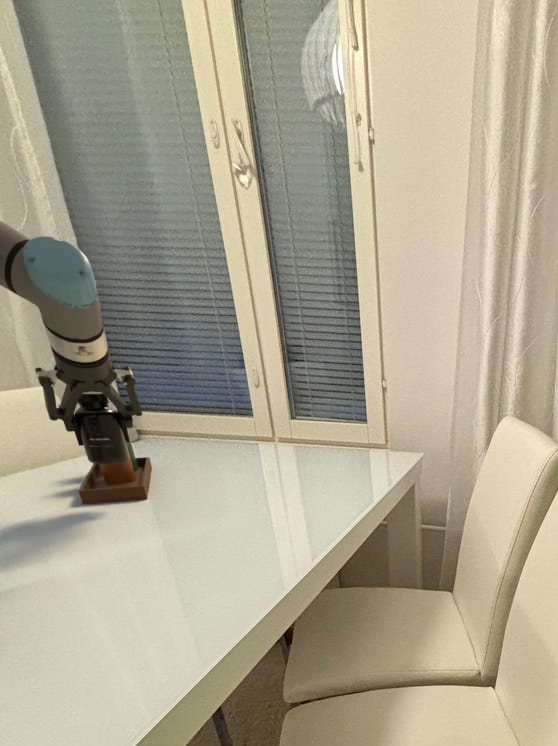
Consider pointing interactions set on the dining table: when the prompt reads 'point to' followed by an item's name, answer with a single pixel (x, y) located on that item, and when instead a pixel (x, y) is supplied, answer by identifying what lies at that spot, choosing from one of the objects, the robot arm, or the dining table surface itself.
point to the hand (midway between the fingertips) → (102, 437)
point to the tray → (116, 485)
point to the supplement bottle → (100, 430)
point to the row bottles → (121, 468)
